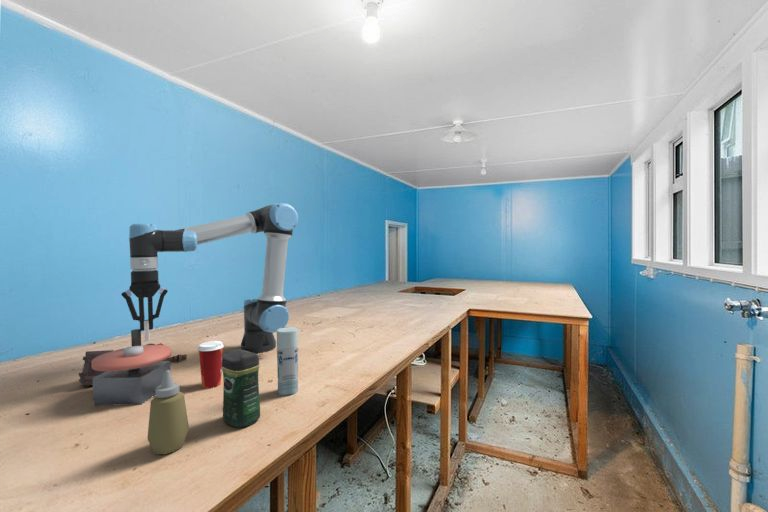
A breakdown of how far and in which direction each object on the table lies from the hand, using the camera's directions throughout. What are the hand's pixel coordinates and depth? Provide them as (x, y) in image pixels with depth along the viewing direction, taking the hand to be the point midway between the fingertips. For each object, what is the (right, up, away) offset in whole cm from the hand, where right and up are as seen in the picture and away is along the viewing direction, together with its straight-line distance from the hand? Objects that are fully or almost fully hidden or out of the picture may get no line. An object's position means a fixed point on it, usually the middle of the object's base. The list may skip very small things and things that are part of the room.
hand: (147, 339), depth 113 cm
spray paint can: (+49, -15, -6) cm, 52 cm away
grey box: (+1, -15, -8) cm, 17 cm away
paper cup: (+22, -15, -1) cm, 27 cm away
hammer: (-10, -15, +11) cm, 21 cm away
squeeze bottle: (+30, -16, -36) cm, 50 cm away
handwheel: (+1, -7, -8) cm, 11 cm away
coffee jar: (+42, -16, -23) cm, 51 cm away
